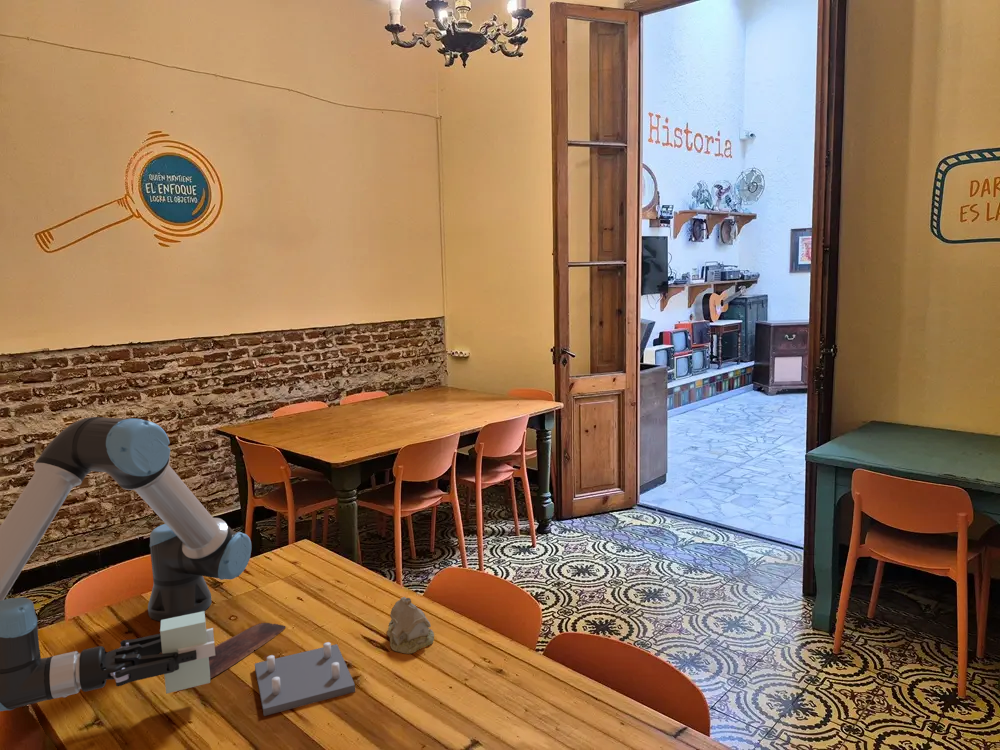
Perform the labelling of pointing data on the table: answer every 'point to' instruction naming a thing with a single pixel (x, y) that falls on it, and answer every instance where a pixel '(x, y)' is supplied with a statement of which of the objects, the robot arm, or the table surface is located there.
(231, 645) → the wooden tablet
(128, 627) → the table surface
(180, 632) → the mint board
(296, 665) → the peg plinth
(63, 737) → the table surface
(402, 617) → the ceramic model
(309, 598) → the table surface
